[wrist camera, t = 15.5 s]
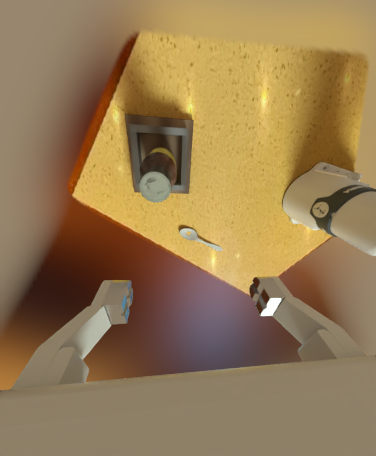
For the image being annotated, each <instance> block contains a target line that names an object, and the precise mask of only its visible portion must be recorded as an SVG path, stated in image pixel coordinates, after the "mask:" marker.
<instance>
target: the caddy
mask: <svg viewBox="0 0 376 456" xmlns="http://www.w3.org/2000/svg"><path fill="white" fill-rule="evenodd" d="M125 118H126V126H127V135H128V143H129V151H130V159H131V167H132V175H133V183H134V191H135V192H140V189H139V181H140V178H141V176H140V165H141V163H142V161H143V159H144V158H145V157H146V156H147V155H148V154H149V153H150V152H151V151H152V150H153V149H155V148H159V147H161V148H165V149H167V150H169V151H170V152H171V153H172V154H173V156H174V159H175V163H176V168H177V177H176V181H175V183H174V185H173V186H172V188H171V193H185V194H189V183H190V167H191V152H192V136H193V120H185V119H173V118H162V117H151V116H139V115H128V114H125Z"/></svg>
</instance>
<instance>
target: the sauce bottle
mask: <svg viewBox="0 0 376 456" xmlns="http://www.w3.org/2000/svg"><path fill="white" fill-rule="evenodd" d="M140 176H141V178H140V181H139V189H140V192H141V194H142V196H143V197H145V198H146V199H147V200H149V201H152V202H162V201H164V200H166V199H167V198H168V196H169V195H170V193H171V188H172V186H173V185H174V183H175V181H176V177H177V168H176V163H175V159H174V156H173V154H172V153H171V152H170V151H169V150H167V149H165V148H161V147H159V148H155V149H153V150H152V151H151V152H150V153H149V154H148V155H147V156H146V157H145V158H144V159H143V161H142V163H141V165H140Z"/></svg>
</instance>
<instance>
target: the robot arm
mask: <svg viewBox="0 0 376 456" xmlns="http://www.w3.org/2000/svg"><path fill="white" fill-rule="evenodd" d="M361 177H362V174H358V173H354V172H351V171H348V170H345V169H343V168H340V167H337V166H334V165H331V164H328V163H325V162H319V163H317V164H316V165H315V166H314V167H313V168H312V169H311V170H310V171H308V172H307V173H305V174H303V175H302V176H300V177H299V178H297V179H296V180H295V181H294V182H293V183H292V184H291V185H290V187H289V188H288V190H287V191H286V193H285V196H284V199H283V209H284V211H285V213H286V214H287V215H288V216H289V217H290V221H291V223H293V224H298V223H301V224H303V225H305V226H307V227H309V228H311V229H313V230H319V229H321V230H323V231H324V232H326V233H328V234H330V235H332V236H335V237H339V238H341V239H343V240H345V241H346V242H348V243H350V244H352V245H353V246H355V247H357V248H359V249H360V250H362V251H364V252H366V253H367V254H370V255H373V256H376V189H374V188H371V187H370V186H369V185H368V184H365V183H361V182H359V181H360V178H361ZM249 291H250V296H251V298H252V300H254V301H255V302H256V305H255V306H256V308H257V310H258V312H259V314H260V316H273V317H274V318H275V319H276V320H277V321H278V322H279V323H280V324H282V325H283V327H284V328H286V329H287V330H288V331H289V332H290V333H291V334H292V335H293V336H294V337H295V338H296V339H297V340H298V341H299V342H300V343H301V344H302V346H301V347H300V348H299V349H298V354H299V355H300V357H301V359H302V360H303V362H296V363H286V364H275V365H265V366H254V367H244V368H232V369H222V370H211V371H201V372H191V373H179V374H169V375H159V376H148V377H137V378H127V379H116V380H105V381H95V382H85V380H86V378H87V375H88V372H89V369H88V367H87V365H86V364H85V363H84V361H83V359H84V358H85V356H86V355H87V354H88V353H89V352H90V350H91V349H92V348H93V347H94V345H95V344H96V343H97V342H98V340H99V339H100V338H101V337H102V336H103V335H104V333H105V332H106V331H107V330H108V329H109V327H110V326H111V324H122V323H126V322H127V319H128V315H129V308H128V307H129V306H130V305H131V303H132V297H133V290H132V288H131V281H130V280H113V281H112V280H105V281H103V283H102V284H101V286H100V288H99V290H98V292H97V294H96V296H95V298H94V300H93V303H92V304H91V306H89V307H87V308H85V309H84V310H83V311H82V312H81V313H79V314H78V315H77V316H76V317H74V318H73V319H72V320H71V321H70V322H69V323H67V324H66V325H65V326H64V327H63V328H61V329H60V330H59V331H58V332H57V333H55V334H54V335H53V336H52V337H50V338H49V339H48V340H47V341H46V342H44V343H43V344H42V345H41V346H39V348H38V349H37V350H36V351H35V353H34V354H33V356H32V358H31V359H30V361H29V362H28V364H27V365H26V367H25V368H24V370H23V371H22V373H21V375H20V376H19V378H18V379H17V381H16V382H15V384H14V385H13V387H12V388H11V389H10V390H0V456H376V355H371V356H366V355H365V354H364V352H363V351H362V350H361V349H360V348H359V347H358V346H357V344H356V343H355V342H354V341H353V340H352V339H351V338H350V337H349V336H348V335H347V333H346V332H345V331H344V330H343V329H342V328H341V327H340V326H338V325H336V324H335V323H334V322H332V321H331V320H329V319H328V318H326V317H325V316H323V315H321V314H320V313H318V312H317V311H315V310H314V309H312V308H311V307H309V306H308V305H306V304H304V303H303V302H302V301H300V300H299V299H297V298H294V297H293V296H292V295H291V293H290V292H289V291H288V289H287V288H286V287H285V286H284V284H283V283H282V282H281V280H280V279H279V278H278V277H255V278H254V279H253V284H252V285H251V286H250V288H249Z"/></svg>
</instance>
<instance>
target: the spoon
mask: <svg viewBox="0 0 376 456" xmlns="http://www.w3.org/2000/svg"><path fill="white" fill-rule="evenodd" d="M188 231H190V232H191V235H189V236H188V235H187V234H186V232H188ZM180 235H181V236H182V237H184V238H186V239H188V240H196V241H199V242H202V243H204V244H206V245H208V246H210V247H211V248H213V249H215V250H217V251H222V248H221V247H220V246H217V245H214V244H211V243H207V242H205V241H202V240H200V239H199V238H198V236H197V233H196V231H195V230H194V229H191V228H183V229H181V230H180Z"/></svg>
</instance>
